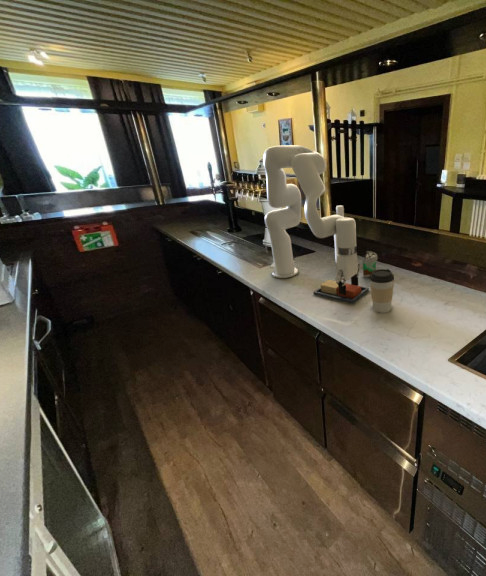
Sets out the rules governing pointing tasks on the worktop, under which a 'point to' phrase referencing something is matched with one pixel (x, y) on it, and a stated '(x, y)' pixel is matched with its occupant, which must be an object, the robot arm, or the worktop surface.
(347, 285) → the pad
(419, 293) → the worktop surface
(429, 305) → the worktop surface
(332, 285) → the pad
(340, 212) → the bottle
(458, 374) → the worktop surface
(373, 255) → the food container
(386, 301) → the coffee cup
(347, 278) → the robot arm
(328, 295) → the tray
